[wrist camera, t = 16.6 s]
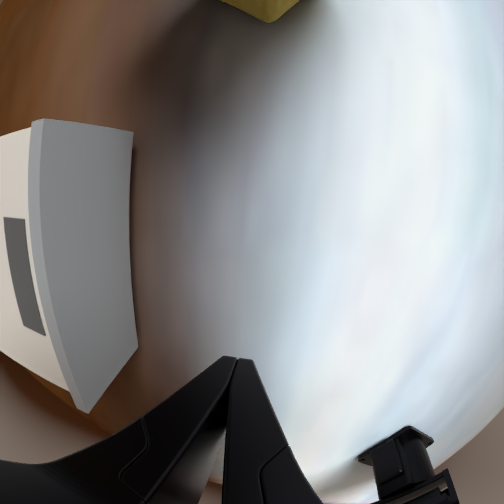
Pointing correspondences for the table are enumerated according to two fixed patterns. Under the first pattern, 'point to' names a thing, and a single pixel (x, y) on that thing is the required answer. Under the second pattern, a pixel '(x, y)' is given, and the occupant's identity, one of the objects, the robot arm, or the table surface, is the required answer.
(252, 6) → the flower pot
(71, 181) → the grey sliding drawer
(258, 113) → the table surface
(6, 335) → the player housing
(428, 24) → the table surface
